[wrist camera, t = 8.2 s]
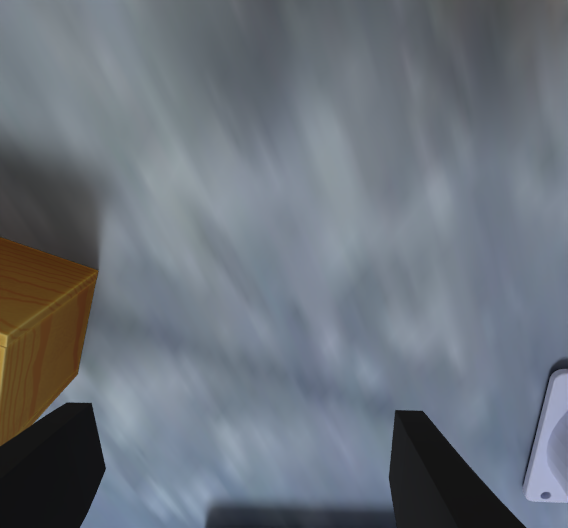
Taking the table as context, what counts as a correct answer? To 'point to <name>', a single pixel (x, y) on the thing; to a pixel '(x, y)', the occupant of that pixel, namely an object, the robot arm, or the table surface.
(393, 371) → the table surface
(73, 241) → the table surface
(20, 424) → the spider toy trap
